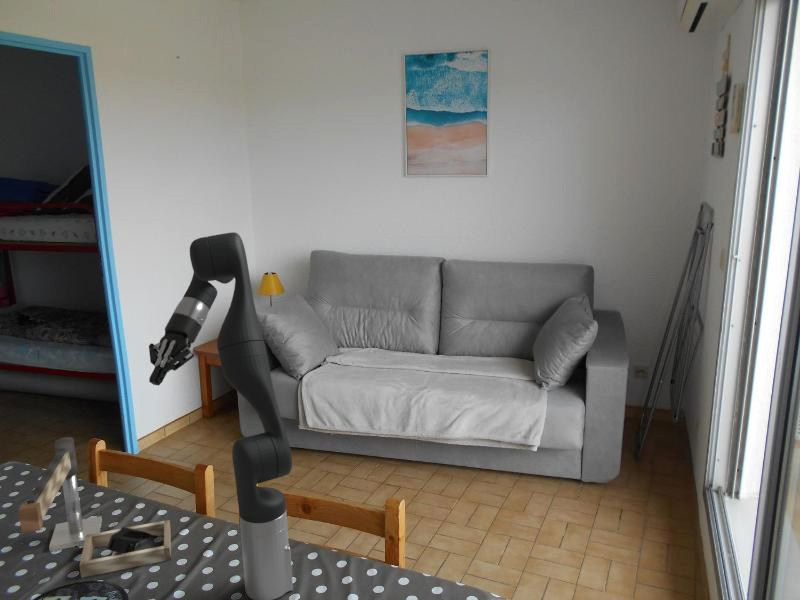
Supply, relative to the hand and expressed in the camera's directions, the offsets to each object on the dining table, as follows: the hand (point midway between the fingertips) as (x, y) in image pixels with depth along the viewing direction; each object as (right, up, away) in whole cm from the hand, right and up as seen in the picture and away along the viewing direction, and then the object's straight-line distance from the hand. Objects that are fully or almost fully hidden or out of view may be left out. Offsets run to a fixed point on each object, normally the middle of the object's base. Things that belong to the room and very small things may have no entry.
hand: (153, 383), depth 150 cm
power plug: (-3, -38, -3) cm, 38 cm away
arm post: (-20, -36, +4) cm, 41 cm away
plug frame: (-4, -38, -4) cm, 38 cm away
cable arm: (-17, -23, -12) cm, 31 cm away
